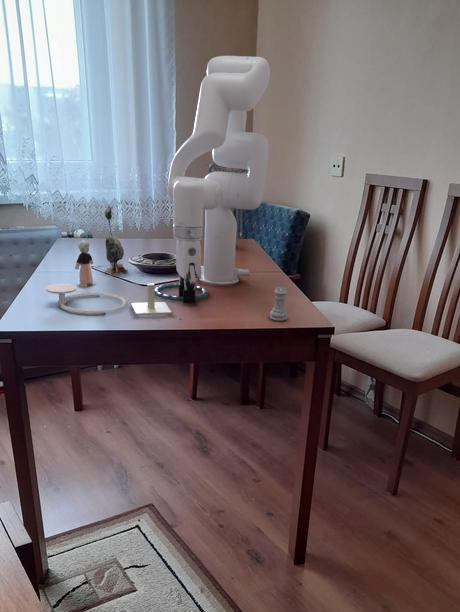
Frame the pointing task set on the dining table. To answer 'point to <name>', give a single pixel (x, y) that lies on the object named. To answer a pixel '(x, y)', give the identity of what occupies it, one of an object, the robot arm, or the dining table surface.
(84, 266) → the grandmother figurine
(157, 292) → the ring
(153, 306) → the post
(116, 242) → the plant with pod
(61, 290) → the hand towel holder
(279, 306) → the rook chess piece
